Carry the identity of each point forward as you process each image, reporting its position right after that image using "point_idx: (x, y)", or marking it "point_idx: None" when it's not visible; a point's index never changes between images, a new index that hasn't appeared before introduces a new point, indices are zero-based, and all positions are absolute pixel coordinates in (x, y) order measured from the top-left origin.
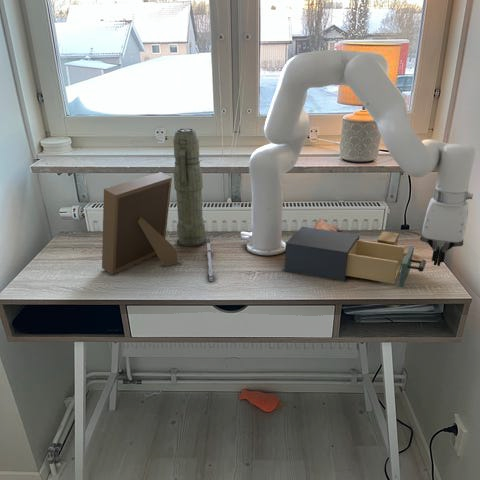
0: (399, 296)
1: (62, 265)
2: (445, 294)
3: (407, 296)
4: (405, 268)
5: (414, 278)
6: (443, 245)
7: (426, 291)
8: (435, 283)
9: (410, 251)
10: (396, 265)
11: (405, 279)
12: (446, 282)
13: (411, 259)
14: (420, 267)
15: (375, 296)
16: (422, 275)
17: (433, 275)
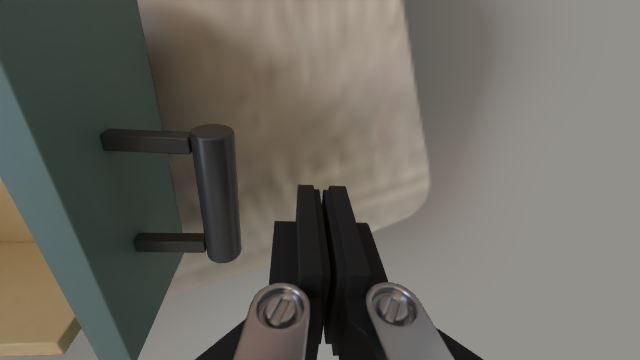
0: (196, 278)
1: None
2: (361, 212)
3: (223, 270)
4: (144, 336)
5: (204, 96)
6: (371, 342)
7: (285, 213)
8: (320, 122)
9: (31, 172)
10: (77, 332)
11: (171, 206)
12: (376, 90)
13: (107, 142)
14: (218, 261)
15: None
16: (239, 32)
17: (304, 7)
